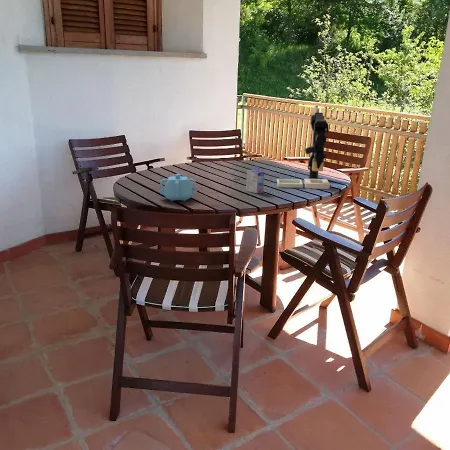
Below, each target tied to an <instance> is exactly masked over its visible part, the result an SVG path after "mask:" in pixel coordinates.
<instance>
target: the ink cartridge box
mask: <svg viewBox="0 0 450 450" xmlns="http://www.w3.org/2000/svg"><path fill="white" fill-rule="evenodd" d="M260 168H261V167H260V166H257V165H256V166H255V167H254V168H253V169H249V170H246V186H245V191H247V192H250V193H254V194H262V193H264V185H265V184H264V182H265V180H264V179H265V171H262V170H260Z"/></svg>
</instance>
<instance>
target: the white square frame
mask: <svg viewBox="0 0 450 450" xmlns="http://www.w3.org/2000/svg"><path fill="white" fill-rule="evenodd" d="M303 184H305V185H304V187H305V189H310V188H312V189H313V190H314V189H316V190H319V189H320V190H330V188H331V184H330V182H329V181H328V179H326V178H325V179H324V178H323V179H322V178H319V179H309V178H304V179H303Z"/></svg>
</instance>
